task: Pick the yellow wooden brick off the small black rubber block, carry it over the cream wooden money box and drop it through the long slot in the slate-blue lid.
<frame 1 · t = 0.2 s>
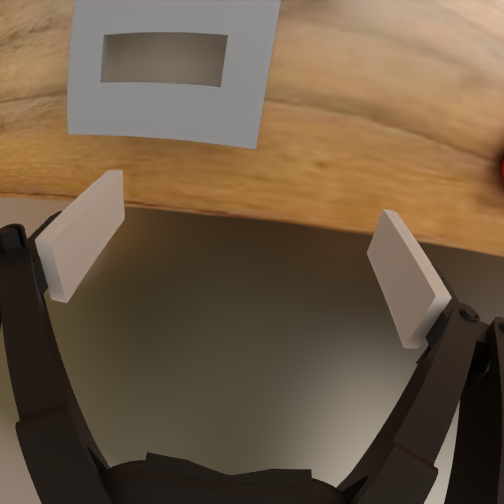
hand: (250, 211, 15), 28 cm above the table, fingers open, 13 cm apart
money box: (188, 57, 34), on the table
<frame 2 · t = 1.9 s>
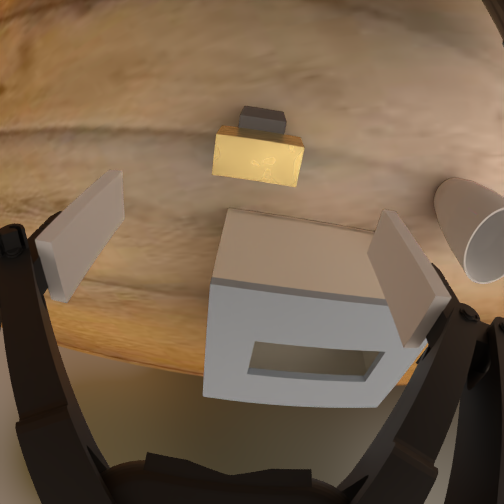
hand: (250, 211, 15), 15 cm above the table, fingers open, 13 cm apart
money box: (306, 281, 37), on the table
block: (259, 134, 28), on the table
cup: (451, 197, 30), on the table
yellow wooden brick: (258, 148, 24), point 5 cm above the table, touching block
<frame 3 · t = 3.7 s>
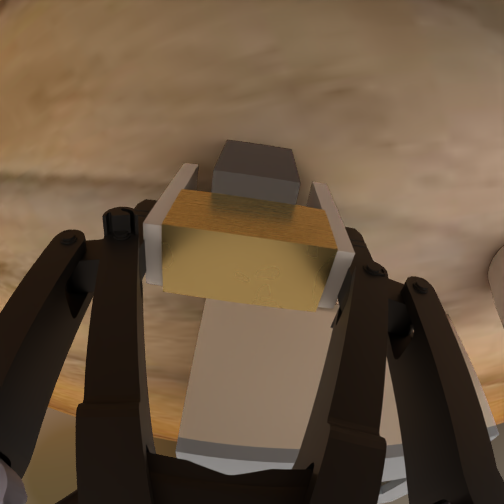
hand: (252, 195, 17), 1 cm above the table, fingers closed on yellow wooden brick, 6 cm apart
money box: (315, 368, 27), on the table
block: (252, 186, 18), on the table
yellow wooden brick: (248, 229, 14), point 5 cm above the table, touching block, gripper
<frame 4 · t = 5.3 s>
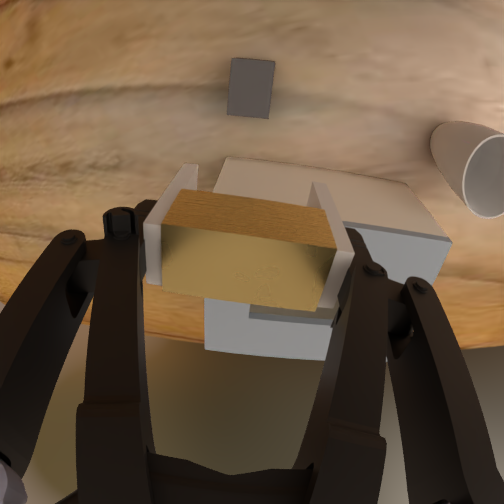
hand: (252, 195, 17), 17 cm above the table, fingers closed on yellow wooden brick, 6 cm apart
money box: (308, 232, 37), on the table
block: (253, 83, 28), on the table
cup: (447, 142, 29), on the table
yellow wooden brick: (248, 229, 14), point 20 cm above the table, touching gripper
when the fingers open (12 cm above the table, at t = 7.0 s): yellow wooden brick drops 15 cm, resting on money box.
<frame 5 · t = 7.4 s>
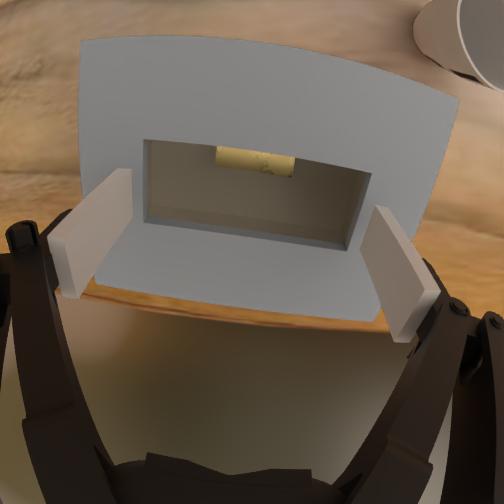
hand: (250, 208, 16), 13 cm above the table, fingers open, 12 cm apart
money box: (257, 140, 27), on the table
cup: (435, 35, 20), on the table
yellow wooden brick: (257, 143, 26), point 1 cm above the table, touching money box
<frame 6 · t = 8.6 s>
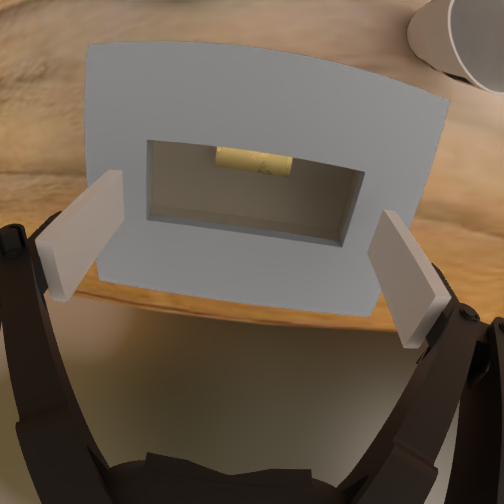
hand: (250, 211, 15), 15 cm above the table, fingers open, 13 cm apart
money box: (256, 142, 28), on the table
cup: (429, 38, 21), on the table
yellow wooden brick: (255, 144, 27), point 1 cm above the table, touching money box
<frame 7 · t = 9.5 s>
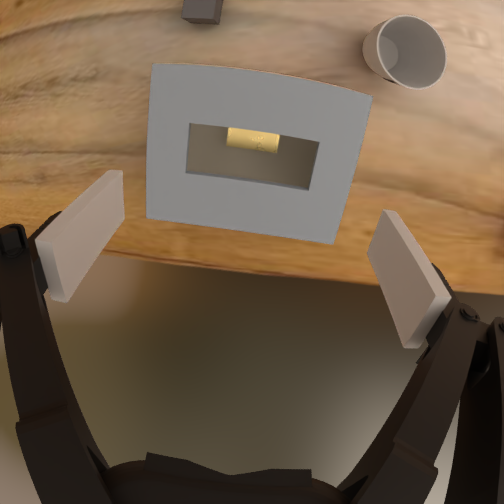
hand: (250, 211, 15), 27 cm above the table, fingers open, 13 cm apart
money box: (254, 130, 39), on the table
block: (207, 5, 30), on the table
cup: (380, 52, 32), on the table
yellow wooden brick: (254, 132, 38), point 1 cm above the table, touching money box
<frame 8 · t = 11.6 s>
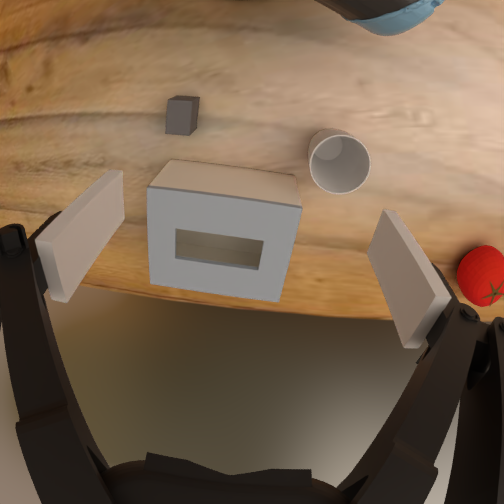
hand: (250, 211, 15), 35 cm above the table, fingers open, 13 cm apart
money box: (226, 210, 54), on the table
block: (186, 111, 45), on the table
cup: (327, 144, 47), on the table
tomato: (472, 260, 58), on the table
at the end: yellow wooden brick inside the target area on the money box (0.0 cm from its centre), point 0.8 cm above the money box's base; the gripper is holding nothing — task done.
